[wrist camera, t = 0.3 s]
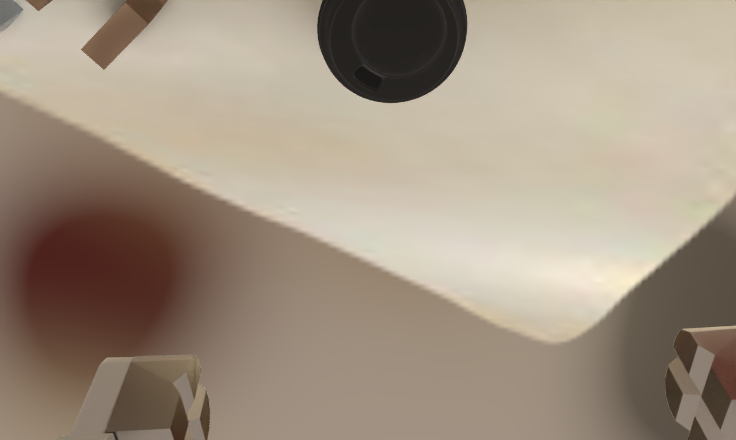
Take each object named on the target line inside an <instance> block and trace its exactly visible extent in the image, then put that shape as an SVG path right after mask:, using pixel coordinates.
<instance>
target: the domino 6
mask: <svg viewBox="0 0 736 440" xmlns="http://www.w3.org/2000/svg"><path fill="white" fill-rule="evenodd" d="M166 2H167V0H127V1H126V2H125V3H124V4H123V5H122V6H121V8H120V9H119V10H118V11H117V12H116V13H115V14H114V15H113V16H112V17H111V18H110V19H109V20H108V21H107V22H106V23H105V24H104V26H103V27H102V28H101V29H100V30H99V31H98V32H97V33H96V34H95V35H94V36H93V37H92V38H91V39H90V40H89V41H88V42H87V44H86V45H85V46H84V47H83V48H82V49H81V50H82V51H83V52H84V53H85V54H87V55H88V56H89V57H90V58H91V59H92V60H93V61H95V62H96V63H97V64H98V65H99V66H100V67H101V68H103V69H105V68H106V67H107V66H108V65H109V64H110V63H111V62H112V61H113V60H114V59H115V58H116V57H117V56H118V55H119V54H120V53H121V52H122V51H123V50H124V49H125V48H126V47H127V46H128V45H129V44H130V43H131V42H132V41H133V40H134V39H135V38H136V37H137V35H138V34H139V33H140V32H141V31H142V30H143V29H144V28H145V27H146V26H147V25H148V24H149V23H150V22H151V20H152V19H153V18H154V17H155V15H156V14H157V13H158V12H159V10H160V9H161V8H162V7H163V5H164V4H165V3H166Z"/></svg>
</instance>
